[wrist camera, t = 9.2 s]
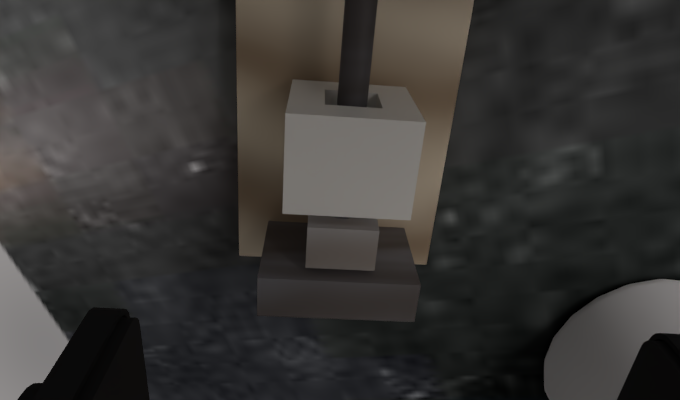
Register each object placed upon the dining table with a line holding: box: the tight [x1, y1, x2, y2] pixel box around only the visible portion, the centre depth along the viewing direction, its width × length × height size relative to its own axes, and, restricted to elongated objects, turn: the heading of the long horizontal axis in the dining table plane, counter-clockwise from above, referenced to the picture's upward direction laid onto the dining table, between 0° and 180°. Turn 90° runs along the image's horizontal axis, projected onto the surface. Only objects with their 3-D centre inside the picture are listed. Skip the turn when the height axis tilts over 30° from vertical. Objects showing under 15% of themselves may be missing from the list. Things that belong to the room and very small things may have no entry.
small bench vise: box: [236, 0, 474, 322], centre depth 21 cm, size 20×10×6 cm, turn 176°
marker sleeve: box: [282, 79, 426, 220], centre depth 21 cm, size 4×5×5 cm
